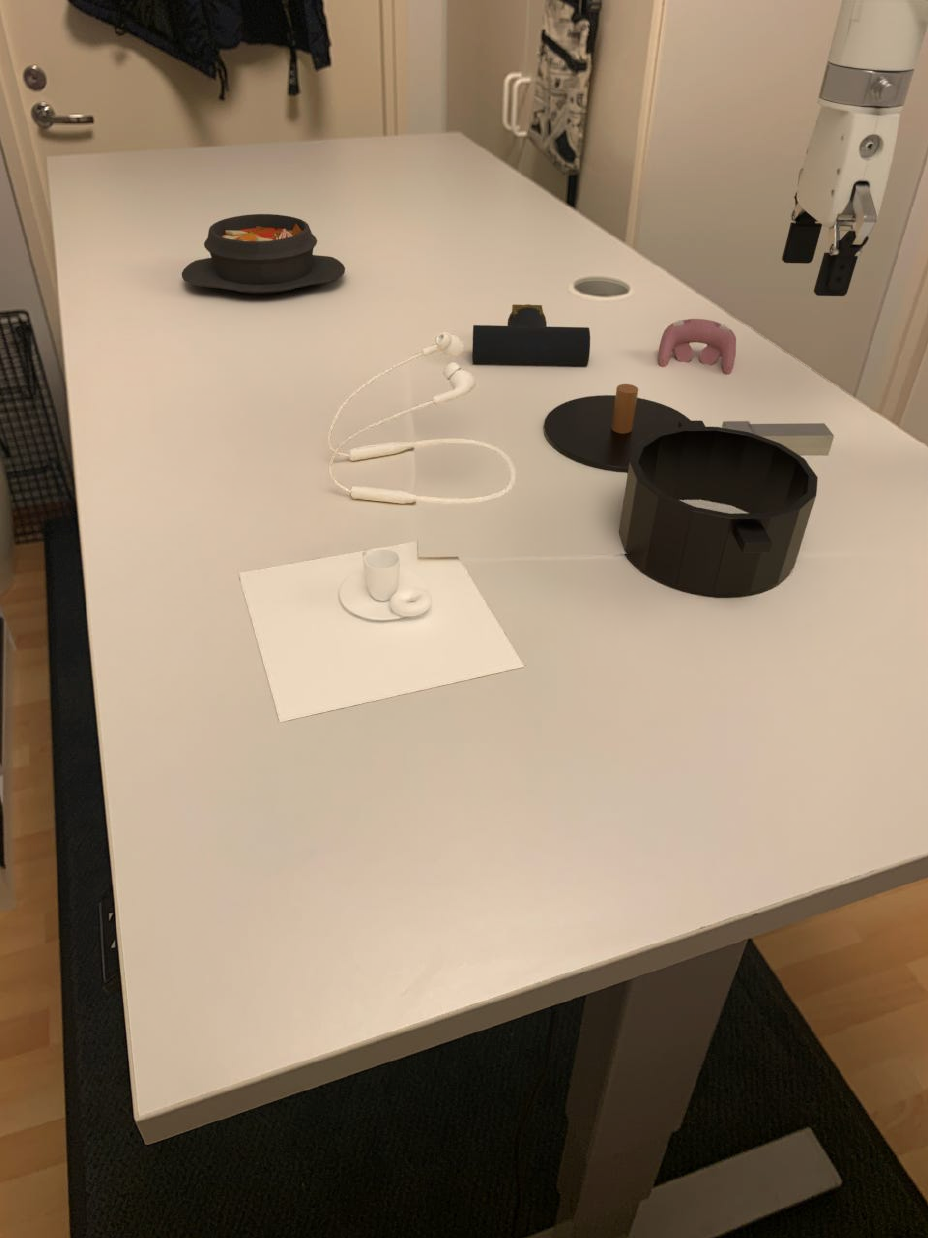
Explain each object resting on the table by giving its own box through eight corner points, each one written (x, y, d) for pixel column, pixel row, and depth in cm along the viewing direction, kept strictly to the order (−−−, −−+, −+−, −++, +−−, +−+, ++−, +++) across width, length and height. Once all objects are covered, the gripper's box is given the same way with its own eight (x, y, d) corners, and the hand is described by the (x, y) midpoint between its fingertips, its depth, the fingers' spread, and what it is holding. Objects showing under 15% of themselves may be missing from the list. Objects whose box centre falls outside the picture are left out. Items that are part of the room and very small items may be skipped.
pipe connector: (472, 298, 124) (582, 301, 124) (471, 336, 127) (578, 338, 128) (473, 333, 115) (591, 335, 116) (472, 372, 119) (586, 374, 119)
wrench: (815, 443, 105) (822, 420, 103) (829, 462, 102) (836, 438, 100) (717, 444, 104) (723, 420, 103) (728, 463, 101) (734, 439, 99)
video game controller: (729, 378, 122) (739, 324, 121) (732, 376, 118) (743, 320, 116) (655, 370, 124) (664, 316, 122) (655, 367, 119) (665, 312, 118)
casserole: (343, 261, 151) (339, 208, 146) (349, 301, 137) (345, 243, 132) (188, 265, 148) (179, 211, 143) (178, 307, 134) (168, 248, 128)
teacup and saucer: (444, 619, 78) (444, 581, 76) (354, 637, 76) (351, 599, 74) (414, 563, 85) (413, 526, 82) (330, 578, 83) (327, 541, 80)
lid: (677, 403, 113) (685, 355, 109) (717, 476, 99) (728, 424, 95) (534, 404, 111) (538, 355, 108) (554, 478, 98) (560, 425, 94)
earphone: (312, 417, 99) (438, 308, 93) (412, 511, 108) (532, 418, 102) (312, 480, 88) (454, 362, 83) (422, 579, 98) (557, 479, 92)
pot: (753, 486, 97) (772, 413, 92) (830, 614, 80) (859, 534, 75) (600, 488, 96) (610, 414, 91) (645, 618, 79) (661, 537, 74)
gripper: (947, 108, 76) (881, 309, 87) (866, 73, 90) (818, 251, 101) (860, 105, 76) (805, 308, 87) (792, 71, 89) (751, 250, 100)
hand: (812, 277), depth 94 cm, fingers open, 9 cm apart
